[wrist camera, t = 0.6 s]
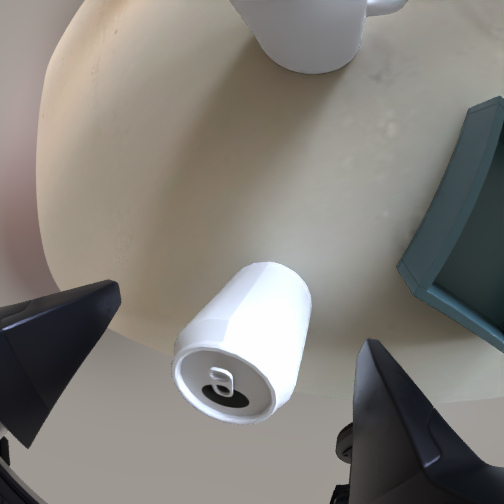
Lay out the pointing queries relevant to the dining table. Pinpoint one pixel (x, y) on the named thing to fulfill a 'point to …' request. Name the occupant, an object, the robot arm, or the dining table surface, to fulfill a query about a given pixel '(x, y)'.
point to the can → (245, 345)
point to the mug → (311, 29)
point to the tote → (466, 231)
